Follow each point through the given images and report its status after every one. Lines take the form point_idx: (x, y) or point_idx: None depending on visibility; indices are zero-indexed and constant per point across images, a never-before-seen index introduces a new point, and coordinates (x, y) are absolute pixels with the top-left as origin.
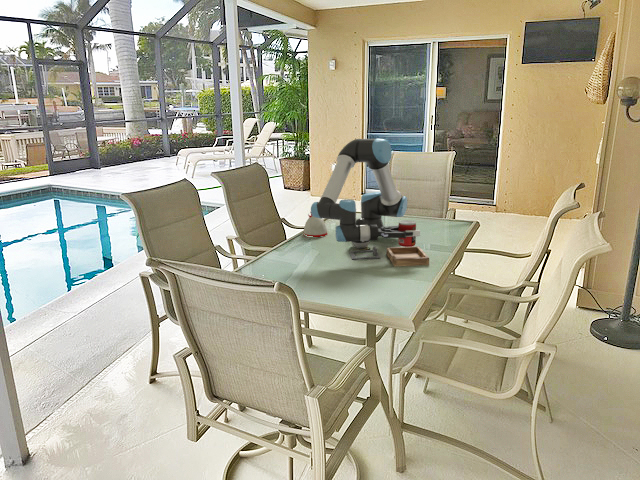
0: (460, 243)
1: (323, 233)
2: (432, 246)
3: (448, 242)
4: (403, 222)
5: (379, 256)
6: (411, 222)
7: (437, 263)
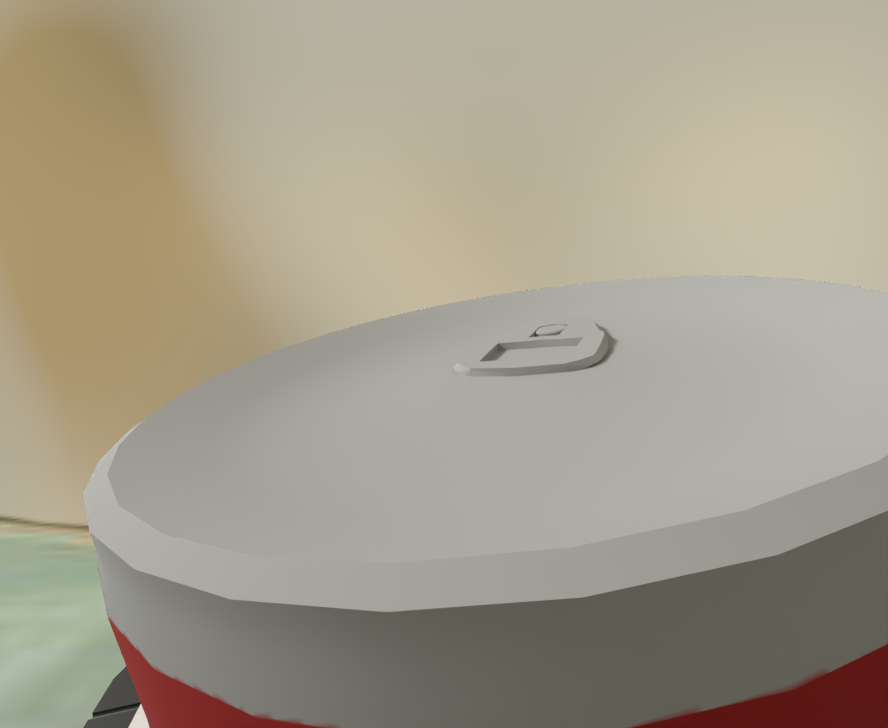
0: None
1: None
2: (69, 706)
3: (59, 596)
4: (423, 454)
5: None
6: (444, 349)
7: None
